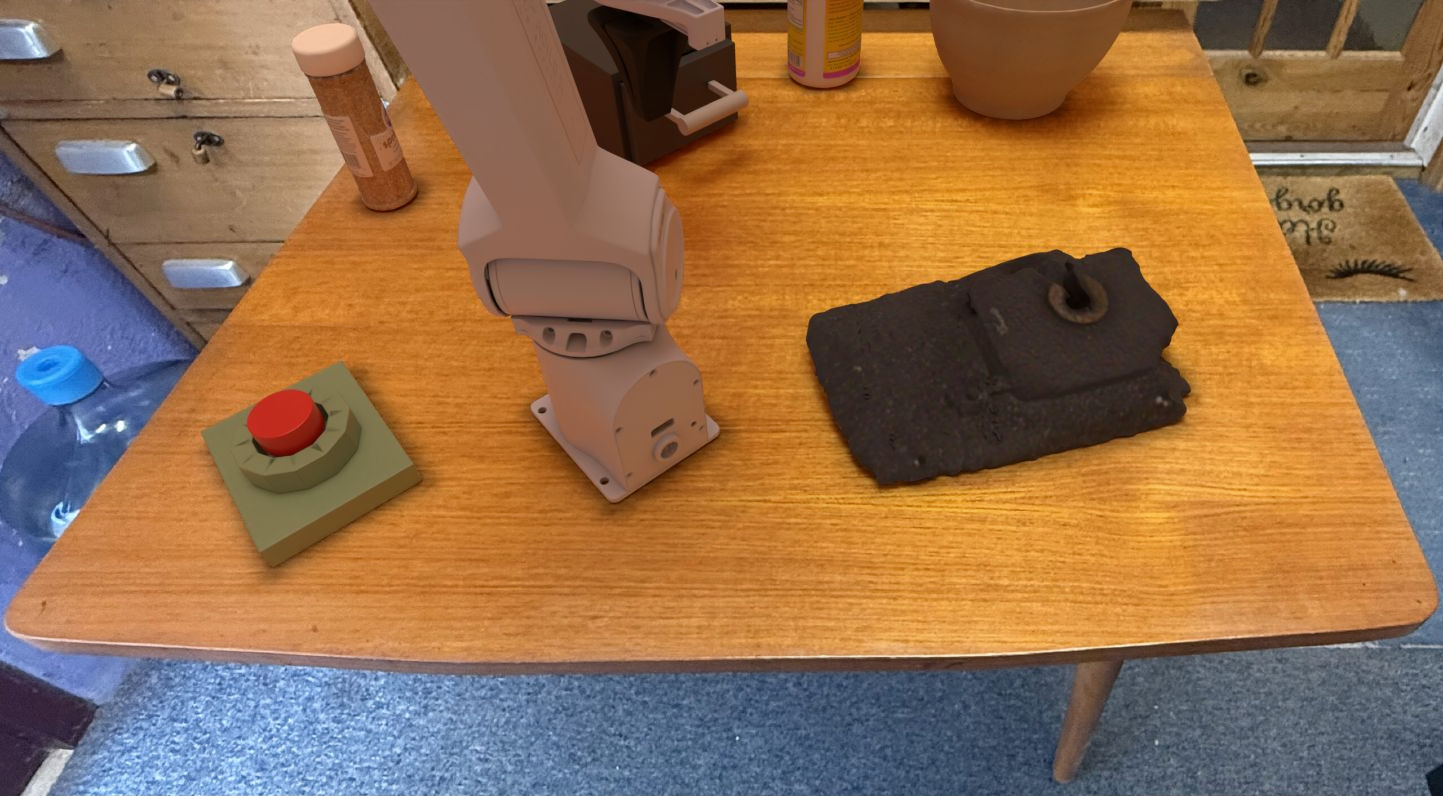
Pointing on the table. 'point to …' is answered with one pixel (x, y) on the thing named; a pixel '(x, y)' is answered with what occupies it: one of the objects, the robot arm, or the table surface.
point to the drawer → (689, 104)
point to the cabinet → (596, 74)
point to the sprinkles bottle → (355, 113)
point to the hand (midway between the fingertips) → (654, 113)
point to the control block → (312, 469)
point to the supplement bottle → (824, 41)
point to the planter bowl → (1022, 50)
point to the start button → (285, 422)
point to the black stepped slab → (999, 365)
